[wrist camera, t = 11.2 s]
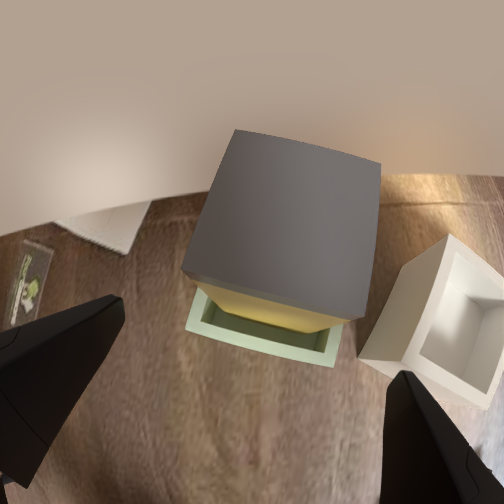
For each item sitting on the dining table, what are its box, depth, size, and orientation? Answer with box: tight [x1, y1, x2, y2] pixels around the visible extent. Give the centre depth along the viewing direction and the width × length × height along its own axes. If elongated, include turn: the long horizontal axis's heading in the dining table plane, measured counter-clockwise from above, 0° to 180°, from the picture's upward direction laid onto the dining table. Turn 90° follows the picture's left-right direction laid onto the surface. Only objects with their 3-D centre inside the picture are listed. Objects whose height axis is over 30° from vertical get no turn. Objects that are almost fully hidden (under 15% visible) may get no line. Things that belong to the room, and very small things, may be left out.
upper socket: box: [357, 233, 504, 411], centre depth 13 cm, size 7×7×6 cm
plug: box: [181, 130, 381, 335], centre depth 12 cm, size 4×4×10 cm
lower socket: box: [185, 287, 344, 368], centre depth 15 cm, size 7×7×4 cm
